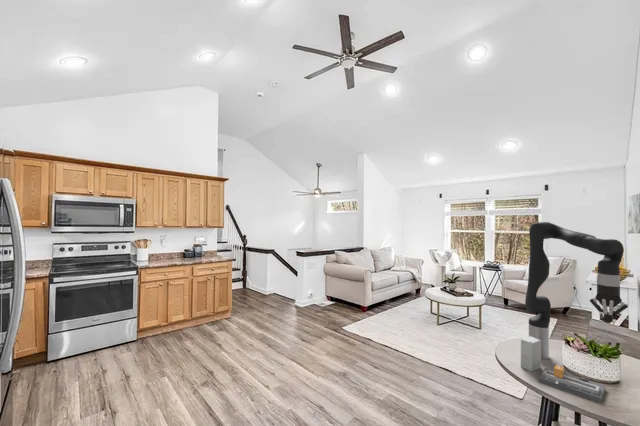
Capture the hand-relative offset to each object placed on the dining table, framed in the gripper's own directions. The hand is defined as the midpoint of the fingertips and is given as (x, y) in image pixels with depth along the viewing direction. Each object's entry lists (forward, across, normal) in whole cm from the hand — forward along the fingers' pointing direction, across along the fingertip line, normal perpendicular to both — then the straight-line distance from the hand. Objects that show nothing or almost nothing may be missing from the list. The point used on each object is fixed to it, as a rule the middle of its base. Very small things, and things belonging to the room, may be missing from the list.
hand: (608, 322), depth 136 cm
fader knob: (+29, +16, +8) cm, 34 cm away
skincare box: (+31, +29, +1) cm, 43 cm away
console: (+31, +12, +6) cm, 34 cm away
